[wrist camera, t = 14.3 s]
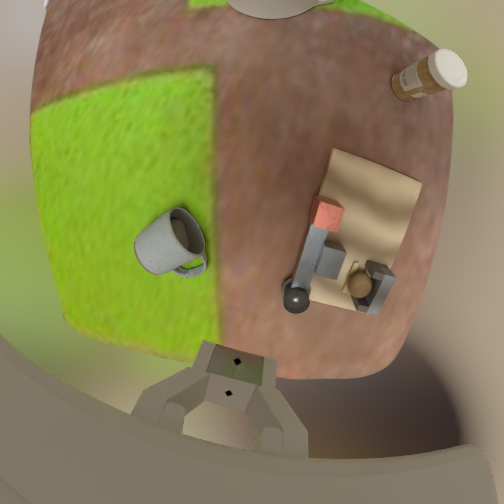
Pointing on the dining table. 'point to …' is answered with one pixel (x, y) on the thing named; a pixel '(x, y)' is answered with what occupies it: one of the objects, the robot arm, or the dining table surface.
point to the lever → (316, 253)
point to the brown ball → (359, 285)
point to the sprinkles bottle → (430, 76)
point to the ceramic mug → (171, 244)
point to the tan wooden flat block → (364, 228)
